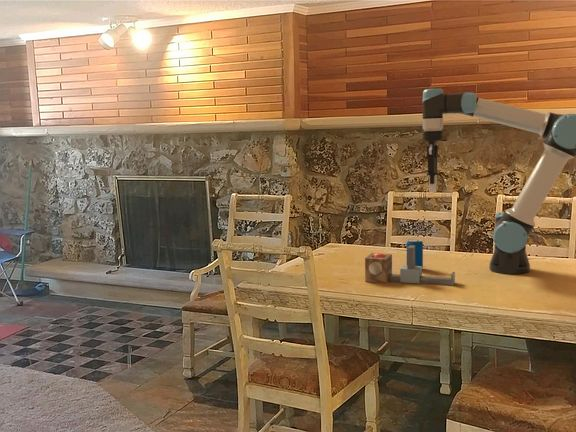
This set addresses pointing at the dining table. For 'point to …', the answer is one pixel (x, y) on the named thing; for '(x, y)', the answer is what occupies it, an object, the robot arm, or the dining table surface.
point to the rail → (428, 279)
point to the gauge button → (378, 255)
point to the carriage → (410, 268)
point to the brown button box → (378, 268)
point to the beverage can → (417, 250)
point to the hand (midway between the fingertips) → (432, 192)
